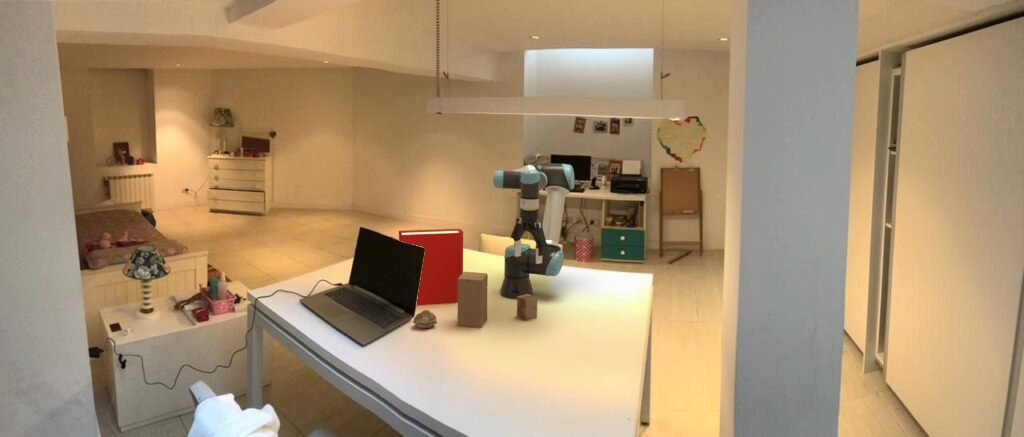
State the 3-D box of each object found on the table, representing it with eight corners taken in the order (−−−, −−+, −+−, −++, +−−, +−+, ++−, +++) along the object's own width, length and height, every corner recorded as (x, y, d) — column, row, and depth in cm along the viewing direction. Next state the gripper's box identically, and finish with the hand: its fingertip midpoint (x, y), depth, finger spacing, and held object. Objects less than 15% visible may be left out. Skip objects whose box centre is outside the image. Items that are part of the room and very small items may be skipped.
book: (401, 306, 271) (400, 234, 265) (400, 300, 279) (398, 230, 273) (463, 302, 278) (463, 232, 272) (460, 296, 286) (460, 228, 279)
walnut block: (516, 316, 262) (517, 296, 260) (527, 314, 265) (528, 293, 263) (525, 321, 257) (526, 300, 255) (536, 318, 261) (537, 297, 259)
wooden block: (481, 328, 248) (481, 280, 244) (457, 326, 250) (457, 278, 246) (487, 319, 258) (487, 273, 254) (463, 317, 260) (464, 271, 256)
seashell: (437, 331, 246) (435, 322, 254) (438, 314, 244) (435, 306, 252) (414, 332, 244) (411, 323, 251) (414, 315, 242) (412, 307, 249)
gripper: (503, 204, 259) (502, 254, 263) (542, 214, 240) (541, 267, 244) (517, 203, 264) (516, 252, 268) (557, 212, 245) (555, 265, 249)
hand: (528, 259), depth 256 cm, fingers open, 13 cm apart
